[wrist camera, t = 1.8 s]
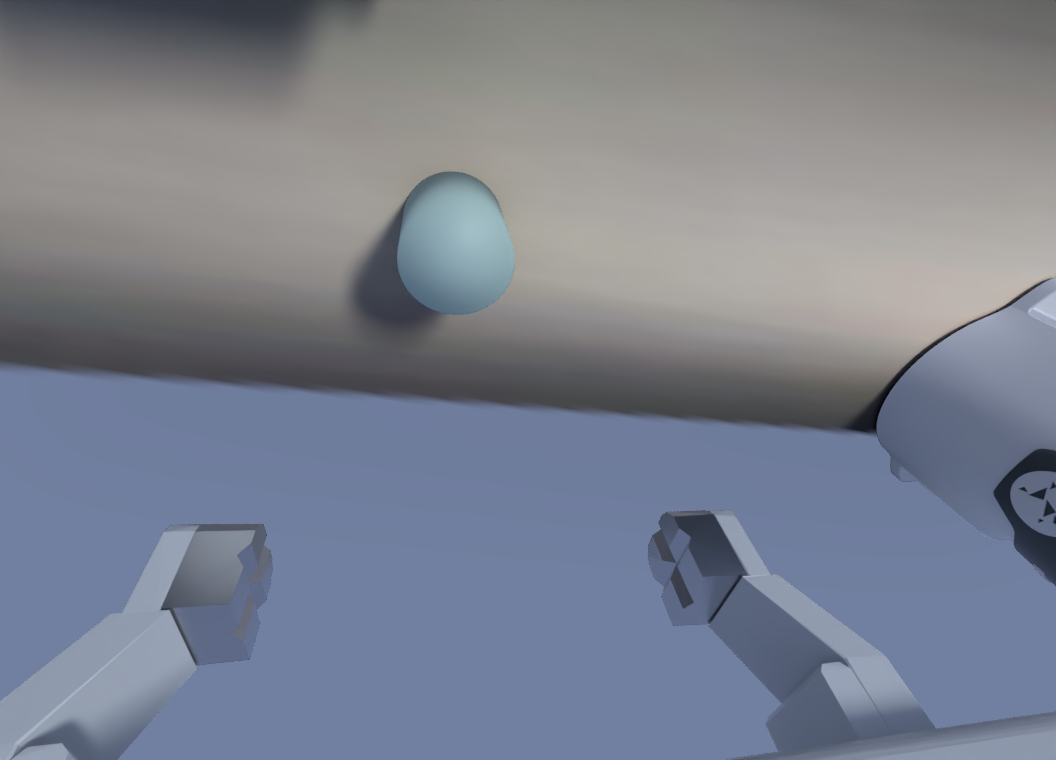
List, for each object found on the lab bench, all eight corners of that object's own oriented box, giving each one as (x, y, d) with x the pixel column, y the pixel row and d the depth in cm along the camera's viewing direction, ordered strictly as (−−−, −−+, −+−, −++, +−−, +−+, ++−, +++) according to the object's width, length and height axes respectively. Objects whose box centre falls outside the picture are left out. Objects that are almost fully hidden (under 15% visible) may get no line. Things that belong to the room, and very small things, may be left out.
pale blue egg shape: (508, 177, 25) (522, 211, 21) (496, 272, 27) (507, 317, 23) (403, 165, 23) (396, 197, 20) (402, 265, 26) (396, 311, 22)
